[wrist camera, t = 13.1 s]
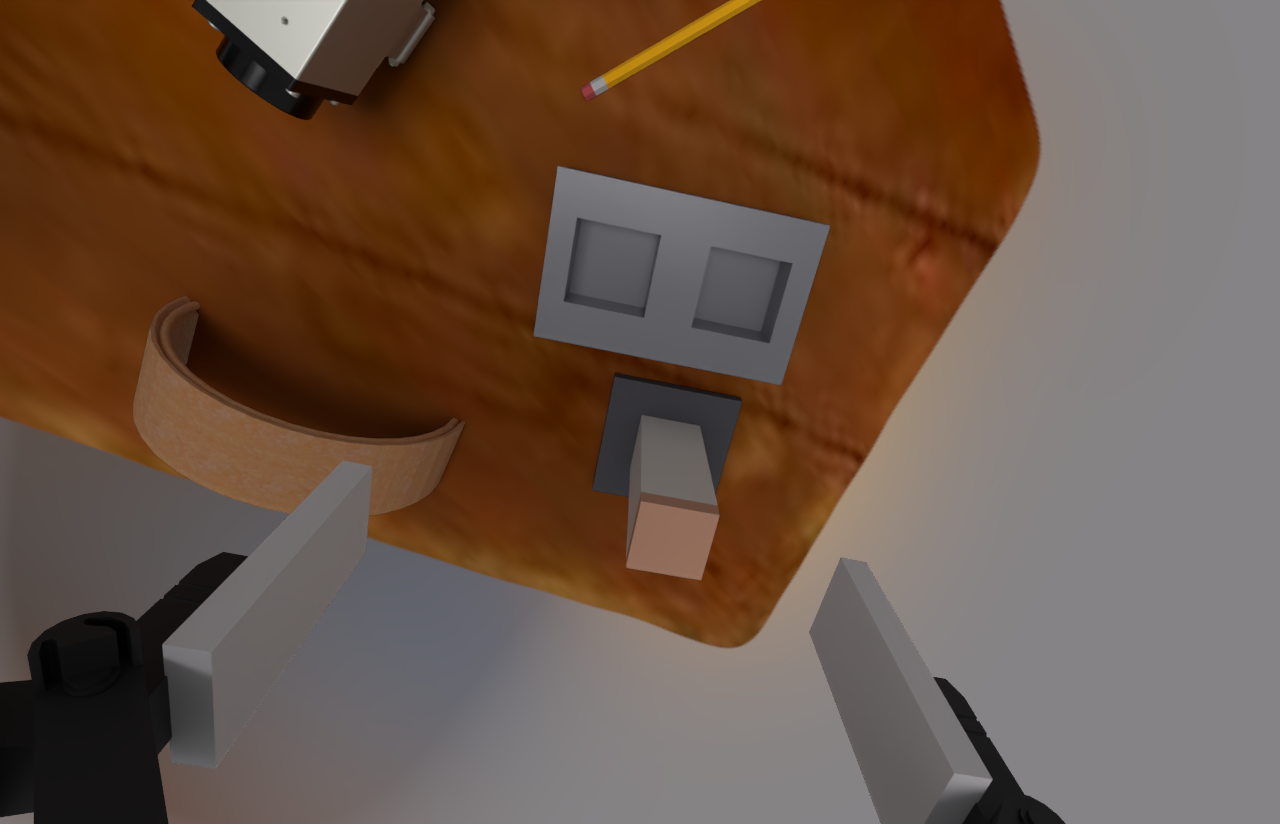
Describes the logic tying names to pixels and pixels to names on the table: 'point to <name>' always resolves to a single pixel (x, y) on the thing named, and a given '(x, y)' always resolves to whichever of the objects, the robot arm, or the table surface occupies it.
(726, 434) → the mat
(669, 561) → the plug
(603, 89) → the pencil
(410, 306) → the table surface
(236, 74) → the pneumatic valve
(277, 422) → the arch
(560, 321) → the grey boxy piece
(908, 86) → the table surface
